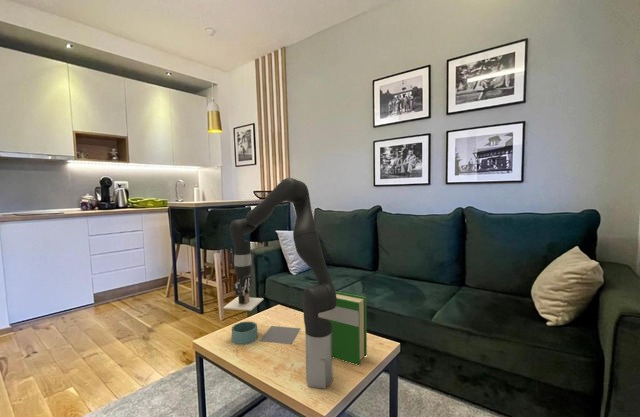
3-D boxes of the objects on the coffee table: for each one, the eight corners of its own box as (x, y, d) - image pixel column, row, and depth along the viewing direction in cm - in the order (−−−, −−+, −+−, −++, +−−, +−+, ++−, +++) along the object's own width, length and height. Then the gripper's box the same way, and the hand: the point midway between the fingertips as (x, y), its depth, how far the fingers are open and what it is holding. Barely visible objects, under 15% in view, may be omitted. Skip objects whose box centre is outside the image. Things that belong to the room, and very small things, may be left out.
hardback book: (366, 356, 115) (366, 297, 114) (359, 366, 109) (358, 303, 107) (328, 344, 124) (327, 289, 123) (319, 353, 118) (318, 295, 117)
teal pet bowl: (250, 346, 124) (250, 333, 124) (227, 344, 126) (227, 331, 126) (261, 334, 135) (260, 322, 134) (239, 332, 137) (239, 320, 137)
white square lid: (251, 310, 122) (250, 299, 122) (223, 308, 125) (222, 298, 124) (263, 299, 135) (263, 289, 134) (237, 297, 137) (237, 288, 137)
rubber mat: (291, 345, 124) (291, 344, 124) (259, 342, 127) (259, 341, 127) (301, 329, 139) (300, 328, 139) (271, 326, 142) (271, 325, 142)
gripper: (243, 268, 121) (244, 308, 122) (257, 260, 135) (258, 296, 136) (227, 267, 123) (228, 307, 124) (242, 259, 136) (243, 295, 137)
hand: (244, 301), depth 130 cm, fingers closed on white square lid, 3 cm apart
